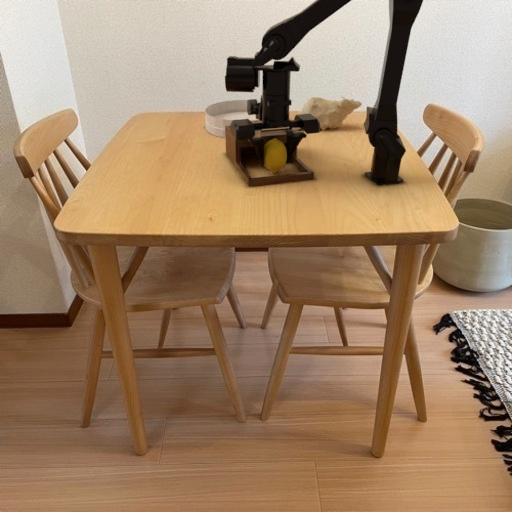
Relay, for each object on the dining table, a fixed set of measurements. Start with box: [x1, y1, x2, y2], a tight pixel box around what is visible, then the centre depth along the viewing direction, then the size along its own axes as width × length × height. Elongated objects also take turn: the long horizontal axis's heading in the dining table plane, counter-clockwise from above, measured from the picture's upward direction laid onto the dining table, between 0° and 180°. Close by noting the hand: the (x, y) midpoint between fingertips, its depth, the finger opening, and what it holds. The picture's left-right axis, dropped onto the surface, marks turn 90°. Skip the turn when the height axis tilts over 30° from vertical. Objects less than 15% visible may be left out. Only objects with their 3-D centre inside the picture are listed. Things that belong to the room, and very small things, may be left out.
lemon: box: [263, 138, 287, 174], centre depth 106 cm, size 6×6×8 cm
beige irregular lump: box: [300, 96, 363, 131], centre depth 136 cm, size 15×7×15 cm
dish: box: [204, 99, 262, 139], centre depth 137 cm, size 22×22×5 cm
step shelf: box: [225, 126, 315, 187], centre depth 111 cm, size 21×15×7 cm
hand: (274, 164), depth 107 cm, fingers closed on lemon, 5 cm apart
